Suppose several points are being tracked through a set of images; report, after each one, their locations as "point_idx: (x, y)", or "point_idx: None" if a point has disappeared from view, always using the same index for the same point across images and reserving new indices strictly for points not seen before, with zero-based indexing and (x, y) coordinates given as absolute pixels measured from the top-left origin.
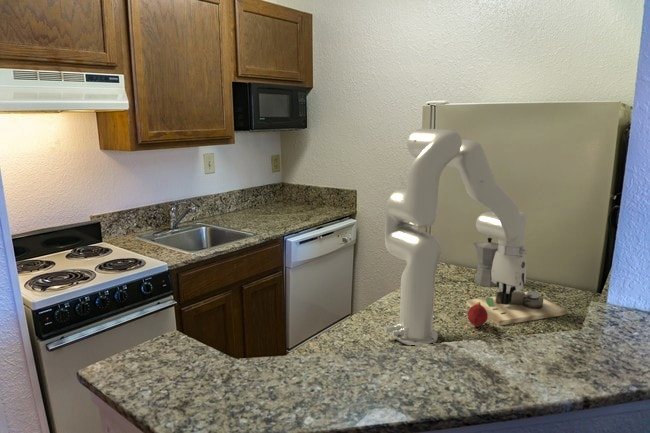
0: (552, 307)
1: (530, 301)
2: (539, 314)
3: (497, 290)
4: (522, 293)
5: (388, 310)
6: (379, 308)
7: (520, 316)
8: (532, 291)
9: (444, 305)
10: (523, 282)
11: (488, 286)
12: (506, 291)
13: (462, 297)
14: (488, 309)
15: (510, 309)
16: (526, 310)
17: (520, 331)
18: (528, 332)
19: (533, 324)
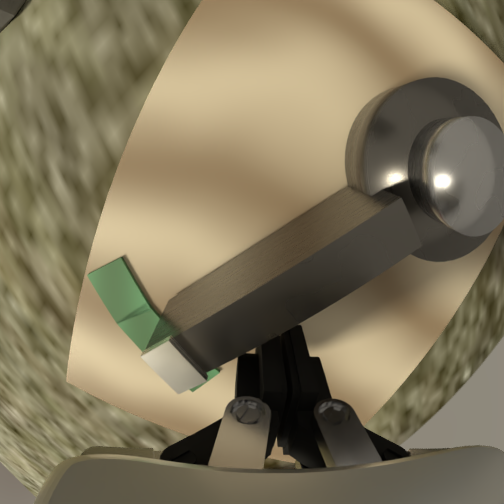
0: (501, 112)
1: (449, 260)
2: (473, 281)
3: (165, 377)
4: (397, 245)
5: (40, 484)
6: (25, 480)
7: (392, 381)
8: (460, 122)
9: (51, 416)
10: (488, 457)
11: (9, 21)
12: (299, 463)
13: (7, 294)
14: (215, 419)
15: (318, 344)
16: (407, 283)
17: (399, 430)
18: (425, 416)
19: (440, 349)
